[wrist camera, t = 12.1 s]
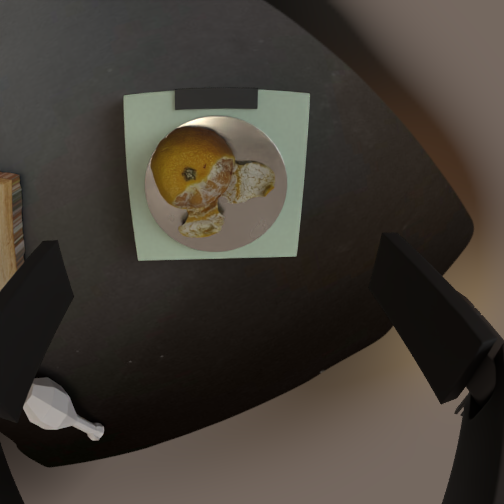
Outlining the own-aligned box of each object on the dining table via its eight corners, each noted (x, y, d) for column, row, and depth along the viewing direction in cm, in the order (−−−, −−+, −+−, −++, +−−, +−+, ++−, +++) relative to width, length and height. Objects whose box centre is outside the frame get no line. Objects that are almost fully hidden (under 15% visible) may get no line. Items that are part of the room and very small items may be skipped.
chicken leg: (81, 424, 44) (92, 460, 38) (10, 381, 33) (12, 423, 27) (110, 406, 46) (124, 442, 40) (40, 357, 35) (44, 401, 29)
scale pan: (142, 118, 20) (140, 119, 19) (290, 116, 21) (292, 117, 21) (152, 250, 25) (151, 254, 25) (281, 247, 26) (282, 250, 26)
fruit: (200, 246, 25) (198, 269, 22) (127, 172, 21) (113, 186, 18) (281, 181, 23) (292, 196, 20) (211, 97, 19) (210, 96, 16)
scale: (133, 94, 22) (122, 94, 19) (300, 92, 23) (311, 91, 20) (144, 245, 28) (137, 262, 25) (289, 241, 30) (297, 258, 27)
